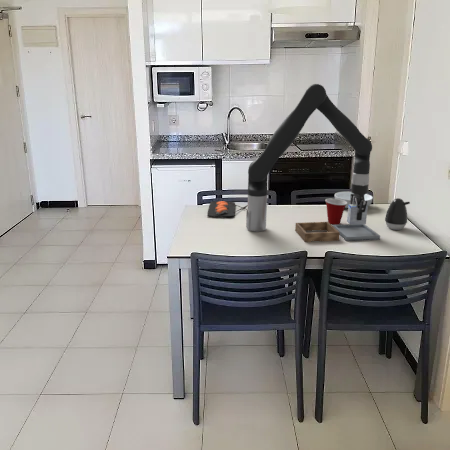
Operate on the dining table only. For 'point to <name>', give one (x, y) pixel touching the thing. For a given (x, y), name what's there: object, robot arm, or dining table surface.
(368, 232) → the grey tray
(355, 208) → the medicine box
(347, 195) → the serving bowl
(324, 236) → the walnut holder
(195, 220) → the dining table surface
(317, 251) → the dining table surface
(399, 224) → the pump dispenser
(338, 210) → the plastic cup
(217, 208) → the sushi plate
